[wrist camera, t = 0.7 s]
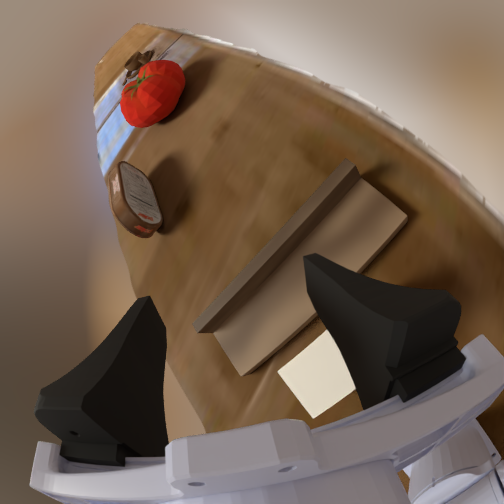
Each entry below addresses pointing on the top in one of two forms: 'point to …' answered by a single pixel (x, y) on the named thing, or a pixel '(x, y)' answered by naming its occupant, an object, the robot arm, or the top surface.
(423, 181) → the top surface
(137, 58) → the place setting
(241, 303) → the ledge board
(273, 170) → the top surface
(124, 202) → the tin
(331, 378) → the cabinet block
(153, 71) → the tomato
